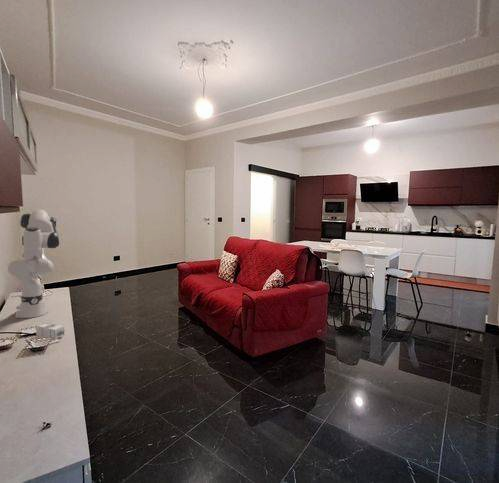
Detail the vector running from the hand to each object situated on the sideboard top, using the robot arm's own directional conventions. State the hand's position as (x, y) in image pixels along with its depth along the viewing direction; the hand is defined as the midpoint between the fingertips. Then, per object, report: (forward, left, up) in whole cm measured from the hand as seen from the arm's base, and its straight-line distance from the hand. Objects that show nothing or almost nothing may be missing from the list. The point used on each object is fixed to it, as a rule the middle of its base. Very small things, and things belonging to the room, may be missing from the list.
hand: (33, 278), depth 173 cm
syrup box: (+6, +1, -30) cm, 30 cm away
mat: (+16, 0, -33) cm, 37 cm away
